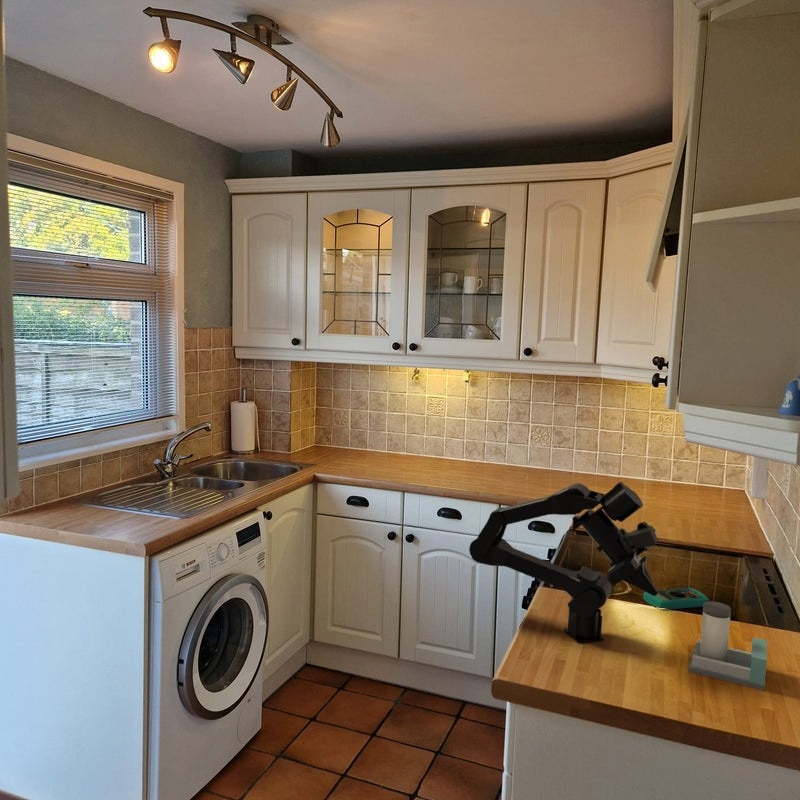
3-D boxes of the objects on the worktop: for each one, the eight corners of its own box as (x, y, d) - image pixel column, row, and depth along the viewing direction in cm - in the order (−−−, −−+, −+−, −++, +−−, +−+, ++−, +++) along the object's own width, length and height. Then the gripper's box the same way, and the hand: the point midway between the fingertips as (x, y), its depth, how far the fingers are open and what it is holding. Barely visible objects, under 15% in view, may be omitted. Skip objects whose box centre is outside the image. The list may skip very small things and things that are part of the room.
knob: (698, 662, 135) (702, 607, 134) (700, 652, 140) (704, 599, 139) (725, 669, 133) (730, 613, 132) (727, 658, 137) (731, 604, 136)
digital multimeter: (711, 608, 168) (711, 596, 168) (659, 612, 165) (660, 600, 164) (691, 597, 175) (692, 586, 175) (641, 600, 172) (642, 589, 171)
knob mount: (688, 671, 134) (690, 642, 133) (693, 652, 143) (695, 624, 142) (764, 690, 128) (766, 660, 127) (764, 668, 136) (766, 640, 136)
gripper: (627, 522, 134) (682, 587, 129) (642, 503, 150) (692, 560, 146) (584, 553, 138) (637, 617, 134) (604, 532, 154) (651, 588, 150)
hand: (656, 594), depth 141 cm, fingers closed
